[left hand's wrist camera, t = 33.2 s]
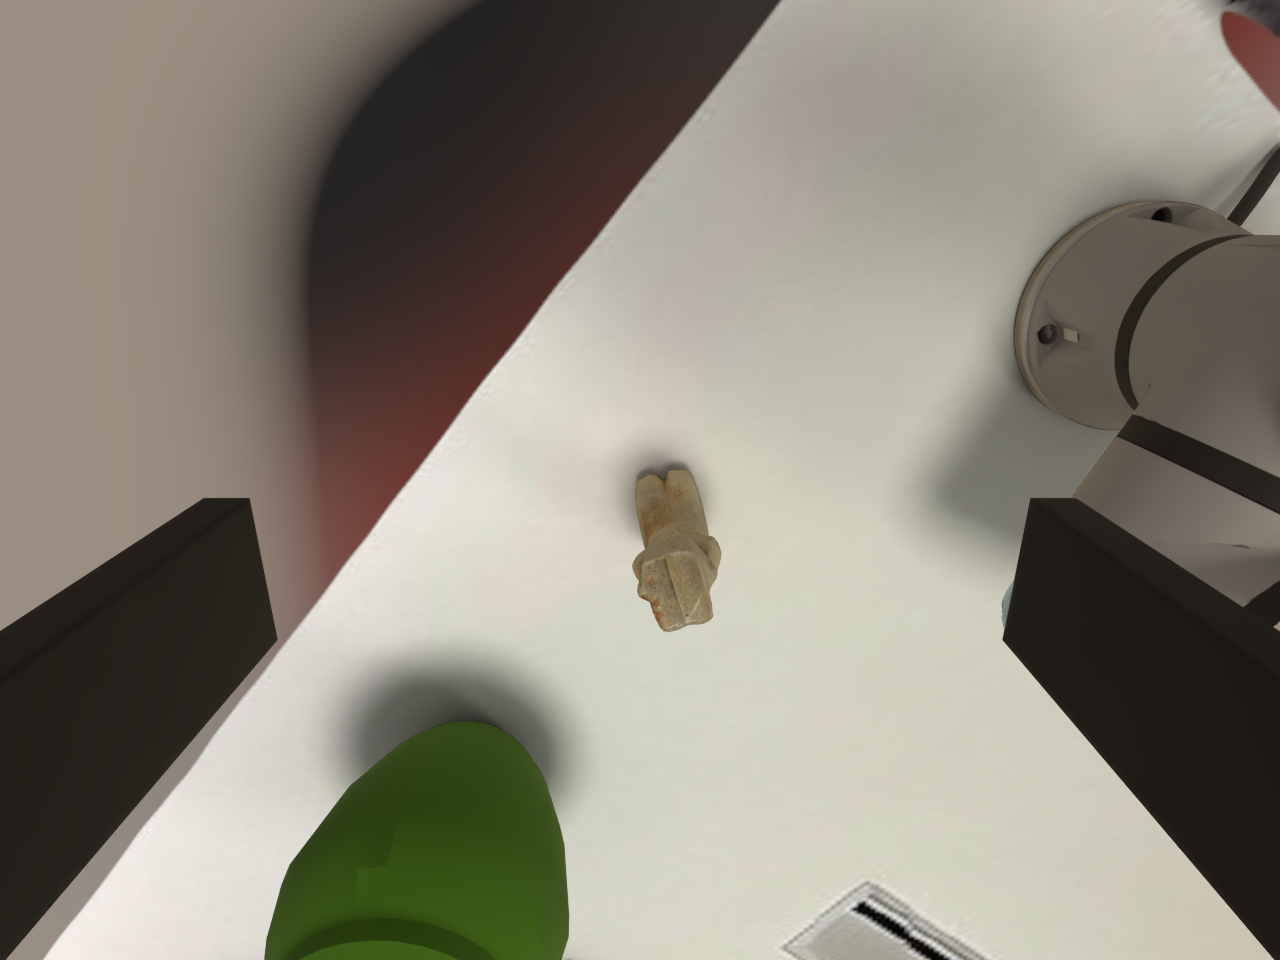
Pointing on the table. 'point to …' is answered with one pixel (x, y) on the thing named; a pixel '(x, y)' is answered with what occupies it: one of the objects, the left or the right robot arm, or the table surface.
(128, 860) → the table surface
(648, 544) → the sculpture
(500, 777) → the vase
